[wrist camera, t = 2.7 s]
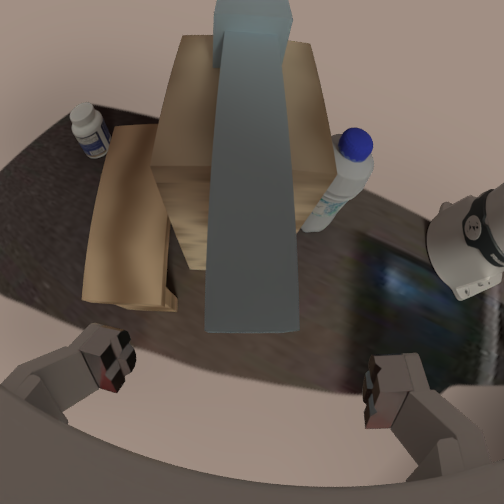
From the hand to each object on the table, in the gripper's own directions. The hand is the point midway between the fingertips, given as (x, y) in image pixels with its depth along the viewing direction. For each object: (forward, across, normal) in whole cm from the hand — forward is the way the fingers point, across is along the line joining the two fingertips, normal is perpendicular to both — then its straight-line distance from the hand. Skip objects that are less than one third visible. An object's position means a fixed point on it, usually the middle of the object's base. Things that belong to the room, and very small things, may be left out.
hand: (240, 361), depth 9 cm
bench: (+28, +19, +8) cm, 35 cm away
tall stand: (+33, +9, +6) cm, 35 cm away
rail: (+12, +2, -6) cm, 13 cm away
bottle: (+38, -2, +7) cm, 38 cm away
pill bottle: (+36, +33, -6) cm, 50 cm away
